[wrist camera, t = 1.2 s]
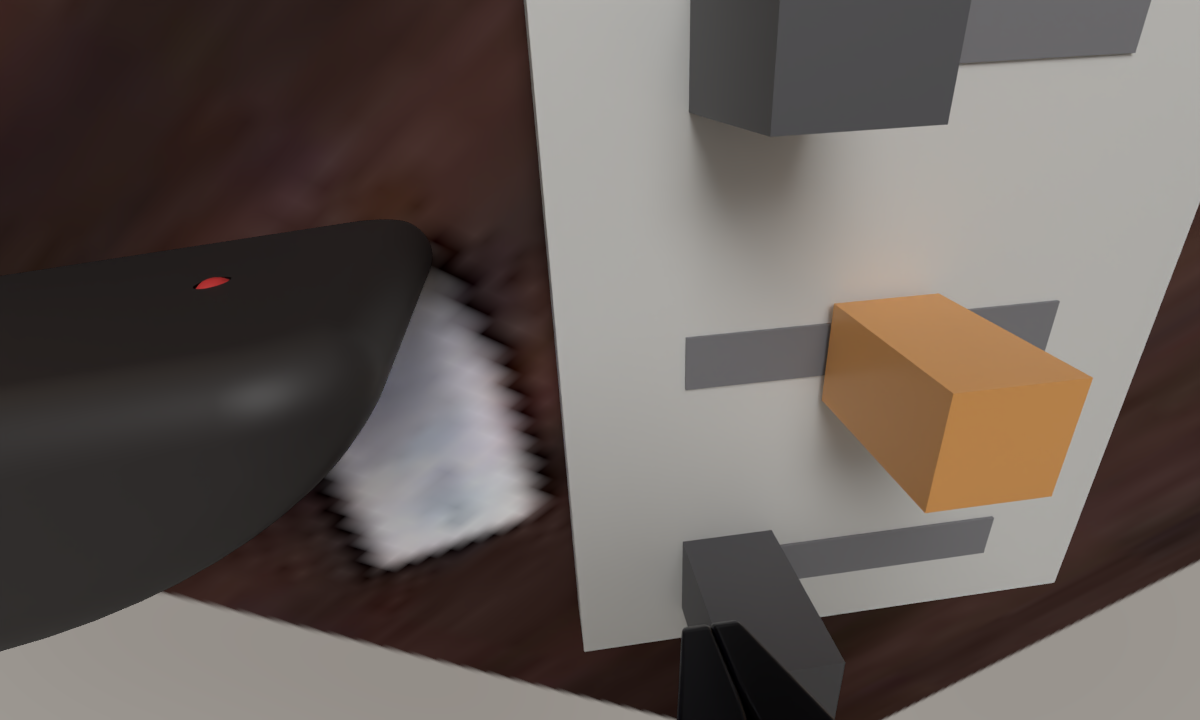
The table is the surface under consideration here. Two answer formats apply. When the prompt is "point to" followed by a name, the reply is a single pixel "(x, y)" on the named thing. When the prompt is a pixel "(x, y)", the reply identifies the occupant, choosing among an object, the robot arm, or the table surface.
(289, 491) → the leaning round-cornered charcoal block
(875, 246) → the breaker panel
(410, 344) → the table surface
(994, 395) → the block
